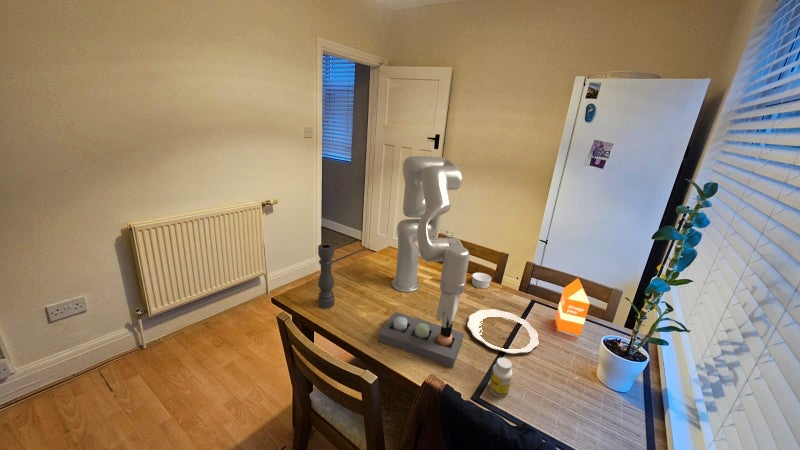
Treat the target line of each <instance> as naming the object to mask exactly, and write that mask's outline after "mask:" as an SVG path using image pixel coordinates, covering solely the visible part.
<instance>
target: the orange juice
mask: <svg viewBox="0 0 800 450" xmlns="http://www.w3.org/2000/svg"><path fill="white" fill-rule="evenodd" d="M585 291H586V290H585V289H584V288H583V285H582V283H581V281H580V279H579V278H576V279H575V280H573V281H572V282H571V283H569V284H568V285H566V286H565V287H563V289H562V293H561V296H560V301H559V303H558V306H557V307H558V308H557V311H556V315H555V318H556V322H557V327H558V330H559V331H564V332H569V333H572V334H576V335H580V336H581V334H582V331H583V327H584V324H585V321H586V318H587V314H588V312H589V308H590V305H591V304H590V301H589V298H588V296H587V293H586V292H585ZM556 322H555V323H556Z"/></svg>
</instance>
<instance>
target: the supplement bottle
mask: <svg viewBox="0 0 800 450" xmlns="http://www.w3.org/2000/svg"><path fill="white" fill-rule="evenodd" d="M512 366H513V365H512V362H511V361H510V359H508V358H506V357H499V358H497V360H496V363H495V364H494V365H493V366H492V370H491V375H490V376H491V377H490V381H489V385H488V386H489V390H490V392H491V393H492V394H493V395H495V396H496V397H499V398H504V397H506V396H507V395H508V394H509V391H510V388H511V382H512V379H513V370H512Z"/></svg>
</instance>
